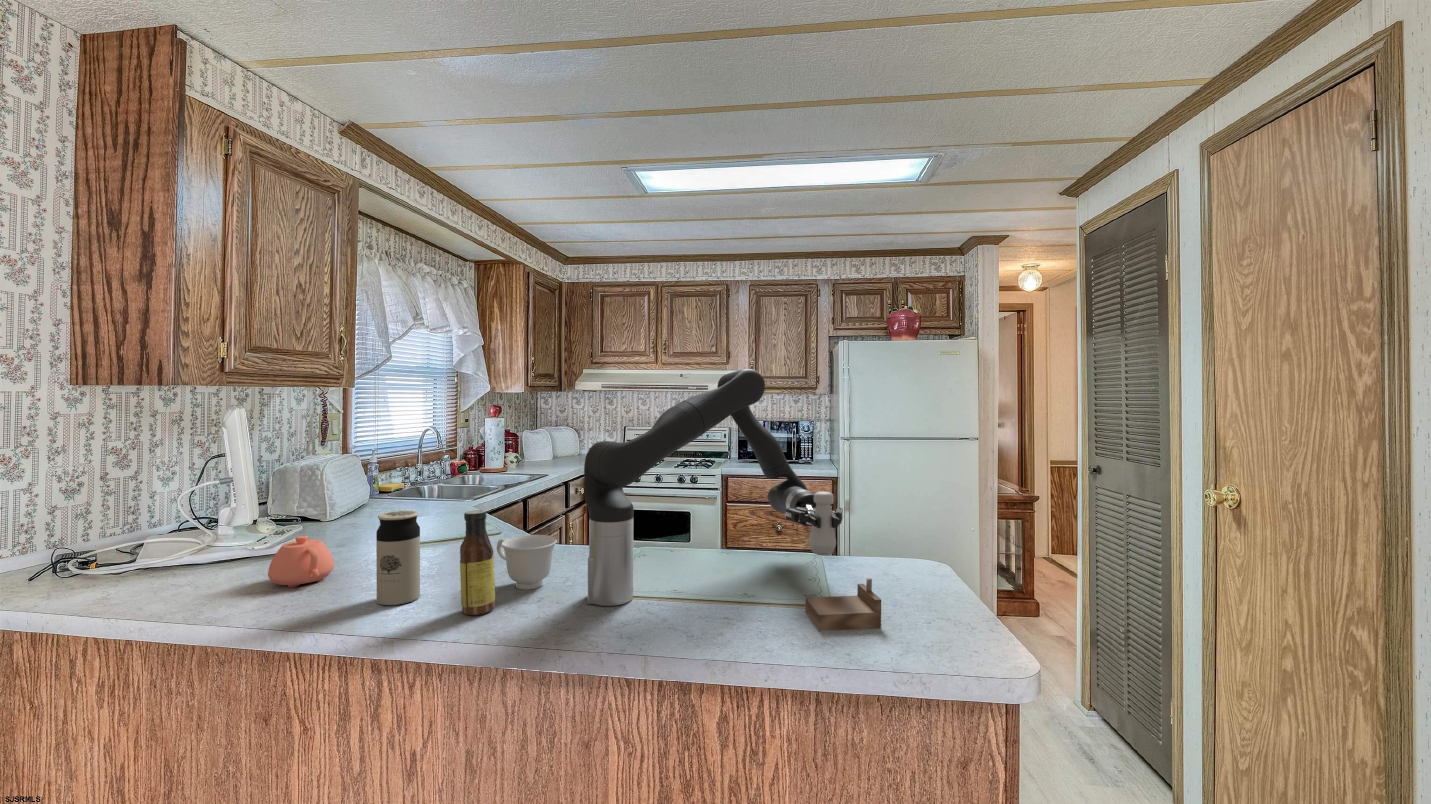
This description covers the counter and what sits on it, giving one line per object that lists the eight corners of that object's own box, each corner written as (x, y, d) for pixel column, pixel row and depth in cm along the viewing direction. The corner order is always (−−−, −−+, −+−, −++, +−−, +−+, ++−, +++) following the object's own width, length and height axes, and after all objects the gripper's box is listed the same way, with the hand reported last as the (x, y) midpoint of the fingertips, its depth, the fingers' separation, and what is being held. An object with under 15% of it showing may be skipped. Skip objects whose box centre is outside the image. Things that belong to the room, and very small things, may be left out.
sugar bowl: (321, 569, 140) (321, 527, 140) (346, 581, 132) (346, 536, 132) (259, 582, 130) (259, 537, 130) (282, 596, 122) (282, 548, 122)
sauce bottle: (501, 607, 117) (501, 509, 116) (479, 618, 111) (479, 515, 110) (475, 603, 119) (475, 507, 119) (452, 614, 113) (452, 513, 113)
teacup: (515, 572, 139) (515, 531, 139) (567, 580, 133) (567, 537, 133) (478, 588, 128) (478, 543, 127) (533, 598, 122) (533, 551, 122)
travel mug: (396, 591, 125) (396, 509, 125) (428, 594, 124) (428, 511, 123) (367, 604, 117) (366, 516, 117) (401, 608, 116) (400, 519, 116)
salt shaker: (819, 558, 119) (821, 495, 119) (803, 551, 125) (804, 490, 124) (841, 555, 122) (843, 493, 122) (824, 548, 127) (826, 489, 127)
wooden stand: (818, 631, 107) (819, 589, 106) (805, 612, 116) (805, 573, 115) (881, 628, 108) (881, 586, 108) (862, 610, 117) (863, 571, 117)
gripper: (776, 491, 137) (795, 505, 119) (833, 491, 138) (860, 505, 121) (775, 522, 137) (794, 541, 119) (832, 522, 138) (859, 541, 121)
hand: (827, 523), depth 120 cm, fingers closed on salt shaker, 3 cm apart
